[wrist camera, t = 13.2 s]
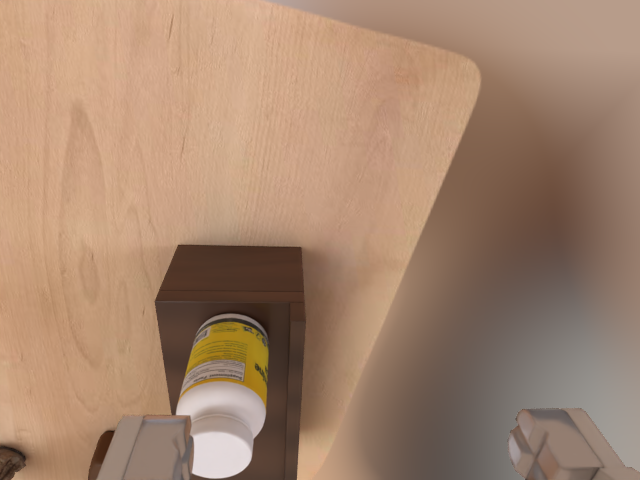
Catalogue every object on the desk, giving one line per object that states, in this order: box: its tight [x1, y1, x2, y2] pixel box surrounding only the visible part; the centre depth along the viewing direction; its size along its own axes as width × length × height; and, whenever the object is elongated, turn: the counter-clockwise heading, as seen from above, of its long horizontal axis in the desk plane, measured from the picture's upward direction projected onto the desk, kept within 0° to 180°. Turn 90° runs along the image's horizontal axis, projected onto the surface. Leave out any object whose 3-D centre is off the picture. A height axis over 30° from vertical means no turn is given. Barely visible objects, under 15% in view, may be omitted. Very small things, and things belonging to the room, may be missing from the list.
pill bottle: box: [176, 314, 269, 479], centre depth 33 cm, size 6×6×11 cm
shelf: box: [155, 245, 306, 480], centre depth 46 cm, size 28×12×11 cm, turn 177°
